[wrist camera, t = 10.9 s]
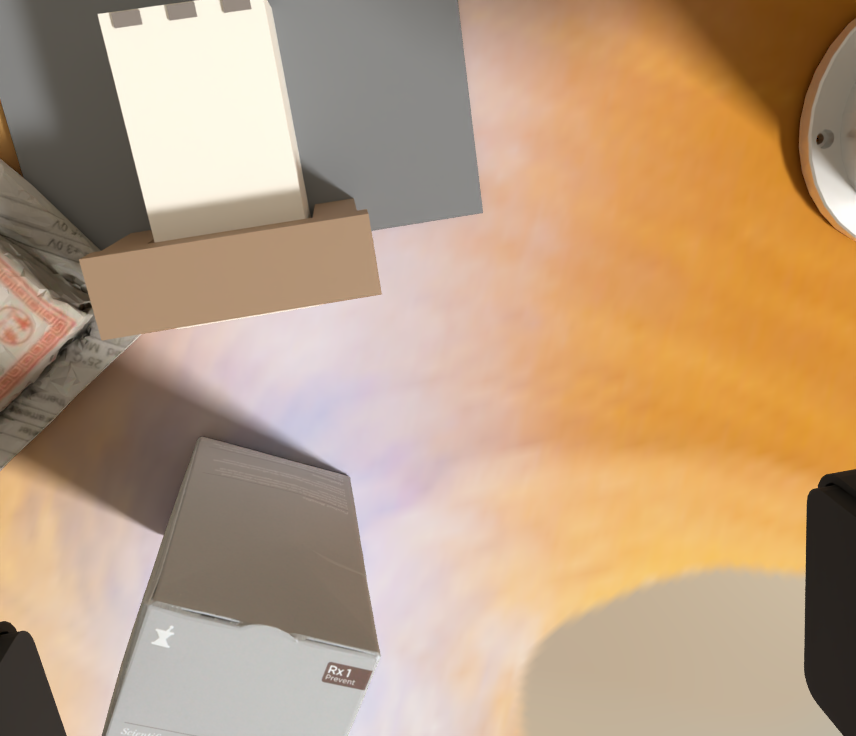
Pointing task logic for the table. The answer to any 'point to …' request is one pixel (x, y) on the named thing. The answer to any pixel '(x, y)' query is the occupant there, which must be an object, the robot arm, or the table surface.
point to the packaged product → (42, 315)
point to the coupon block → (217, 180)
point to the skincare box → (251, 606)
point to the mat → (308, 97)
